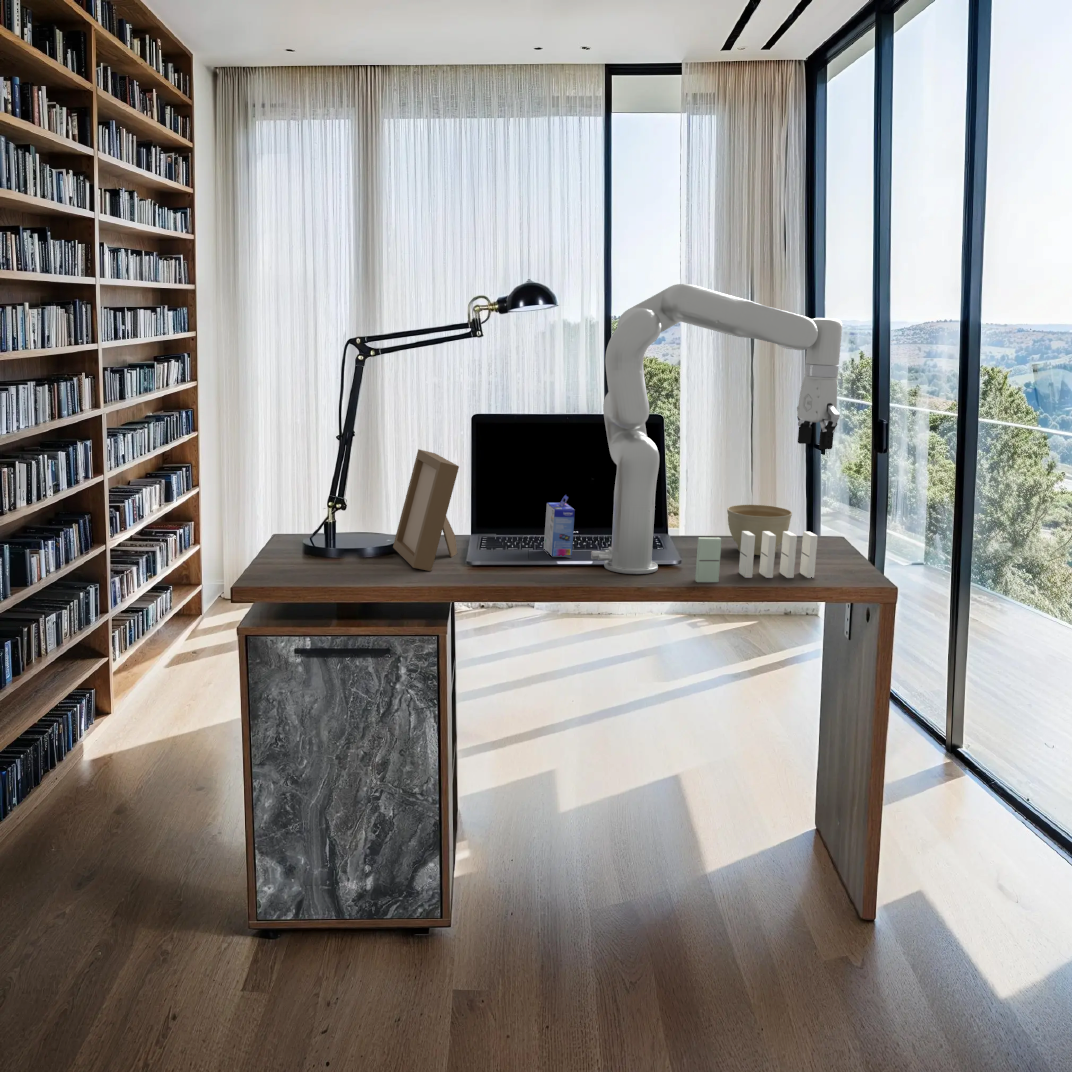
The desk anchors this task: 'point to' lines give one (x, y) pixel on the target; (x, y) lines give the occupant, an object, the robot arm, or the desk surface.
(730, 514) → the planter bowl
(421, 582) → the desk surface
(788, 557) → the domino
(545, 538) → the ink cartridge box
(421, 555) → the photo frame
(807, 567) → the domino
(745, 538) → the domino
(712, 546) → the domino
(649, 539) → the robot arm
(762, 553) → the domino
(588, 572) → the desk surface
